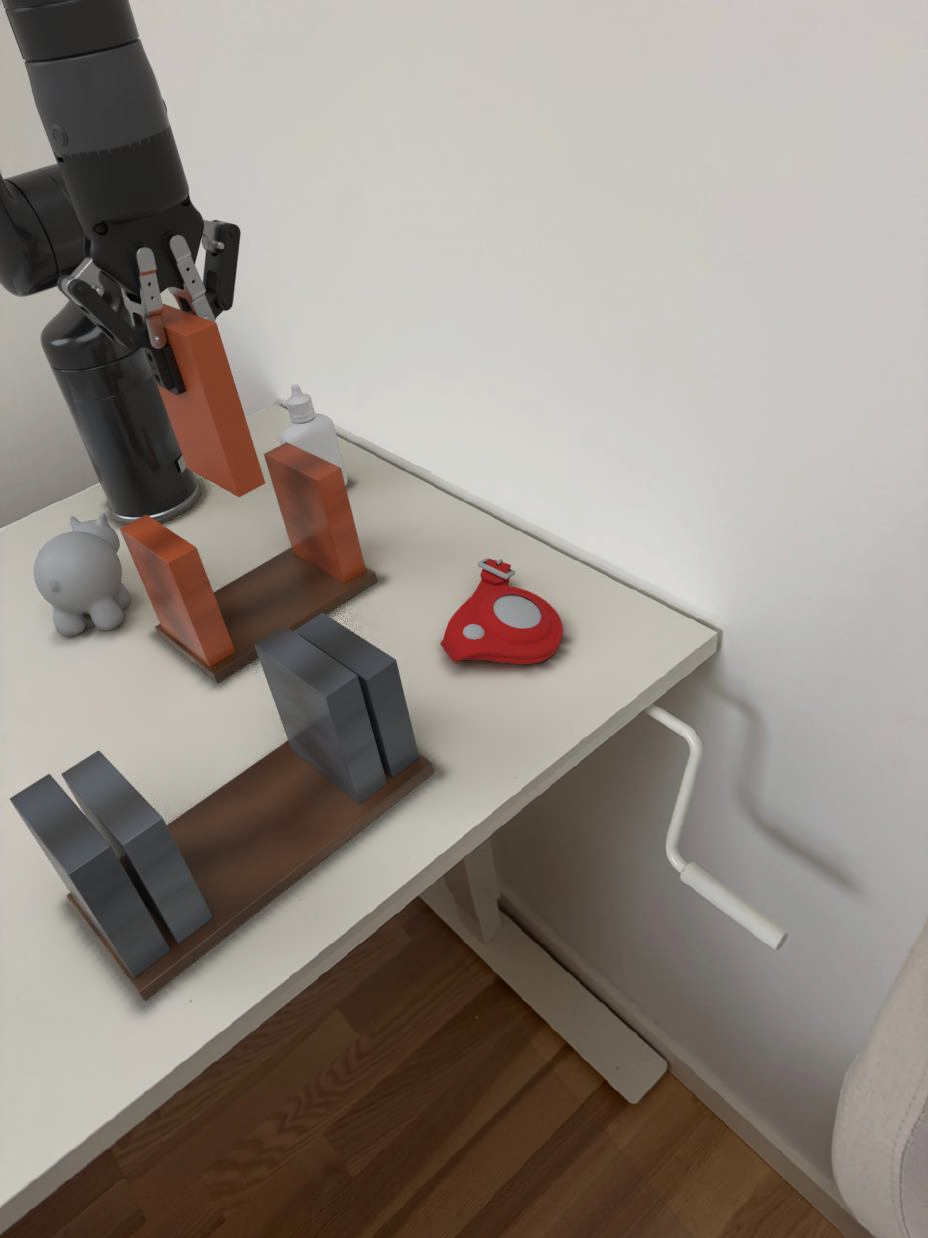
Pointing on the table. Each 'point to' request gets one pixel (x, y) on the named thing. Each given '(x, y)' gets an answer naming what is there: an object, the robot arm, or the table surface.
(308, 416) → the eye dropper bottle
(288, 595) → the orange rack
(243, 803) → the grey rack
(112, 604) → the toy rhinoceros
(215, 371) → the orange book
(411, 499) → the table surface
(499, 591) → the tracker holder
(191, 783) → the table surface
